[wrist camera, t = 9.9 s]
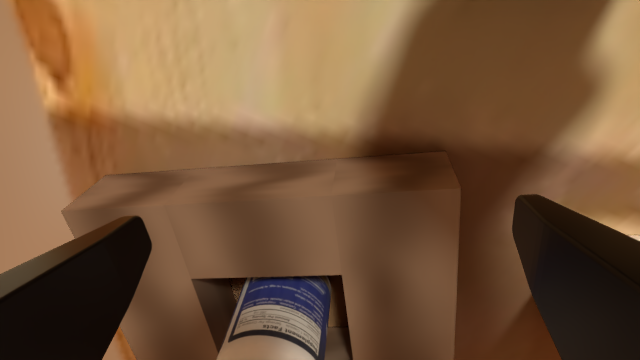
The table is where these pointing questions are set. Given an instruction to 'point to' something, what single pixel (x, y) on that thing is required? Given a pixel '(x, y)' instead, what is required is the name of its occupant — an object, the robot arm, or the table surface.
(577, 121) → the table surface
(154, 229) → the well block
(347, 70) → the table surface
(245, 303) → the pill bottle
